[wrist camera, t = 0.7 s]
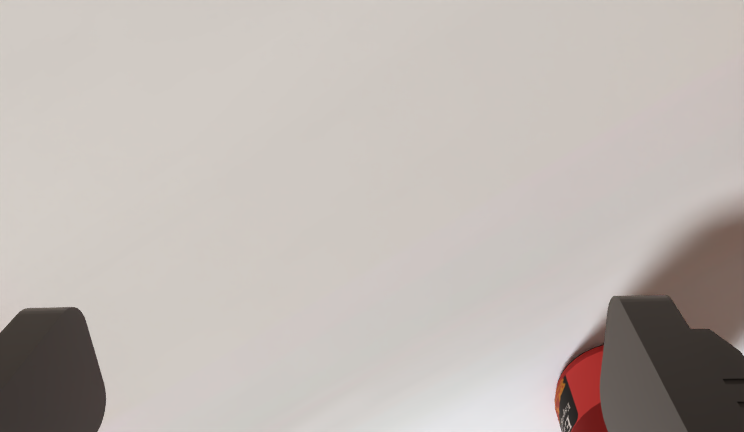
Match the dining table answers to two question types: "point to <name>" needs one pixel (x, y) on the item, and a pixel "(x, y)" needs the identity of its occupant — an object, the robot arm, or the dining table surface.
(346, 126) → the dining table surface
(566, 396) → the canned food
